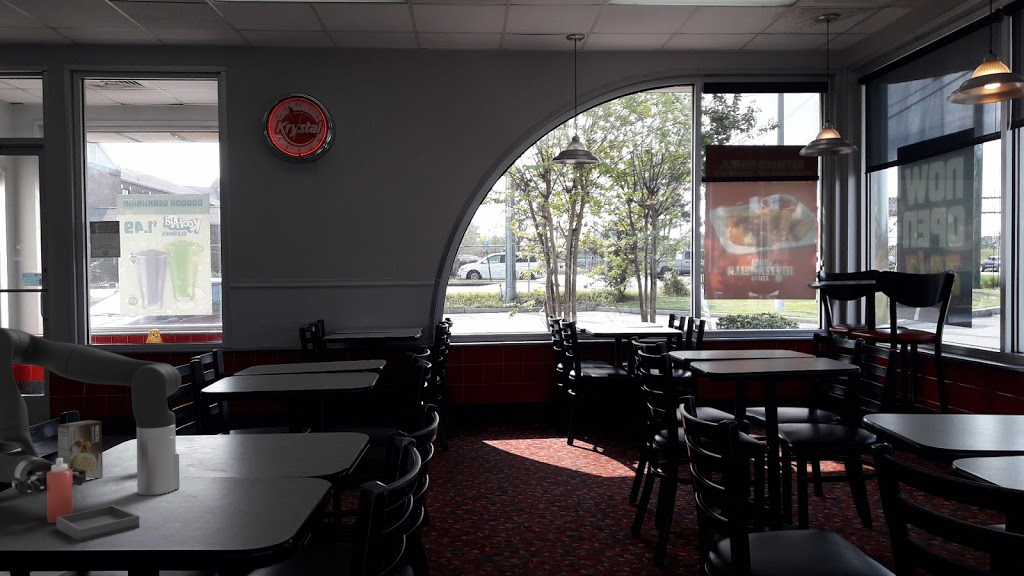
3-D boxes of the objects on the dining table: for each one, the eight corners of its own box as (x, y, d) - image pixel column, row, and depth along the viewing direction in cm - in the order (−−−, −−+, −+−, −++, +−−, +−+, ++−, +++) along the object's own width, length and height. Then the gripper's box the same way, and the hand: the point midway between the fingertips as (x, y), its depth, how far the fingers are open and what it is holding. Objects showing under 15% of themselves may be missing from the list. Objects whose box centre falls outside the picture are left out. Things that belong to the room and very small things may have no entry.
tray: (113, 515, 173) (113, 504, 173) (139, 527, 164) (139, 516, 164) (56, 528, 164) (56, 517, 164) (79, 541, 155) (79, 529, 155)
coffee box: (91, 475, 213) (90, 419, 214) (103, 477, 210) (102, 421, 210) (57, 482, 206) (56, 424, 206) (70, 485, 202) (69, 426, 202)
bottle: (68, 514, 174) (67, 455, 174) (76, 518, 171) (75, 458, 171) (44, 520, 171) (43, 459, 171) (51, 524, 167) (51, 462, 167)
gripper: (2, 464, 176) (24, 474, 165) (68, 453, 187) (93, 462, 176) (2, 495, 176) (24, 508, 165) (69, 483, 187) (93, 494, 176)
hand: (60, 484), depth 171 cm, fingers open, 8 cm apart
